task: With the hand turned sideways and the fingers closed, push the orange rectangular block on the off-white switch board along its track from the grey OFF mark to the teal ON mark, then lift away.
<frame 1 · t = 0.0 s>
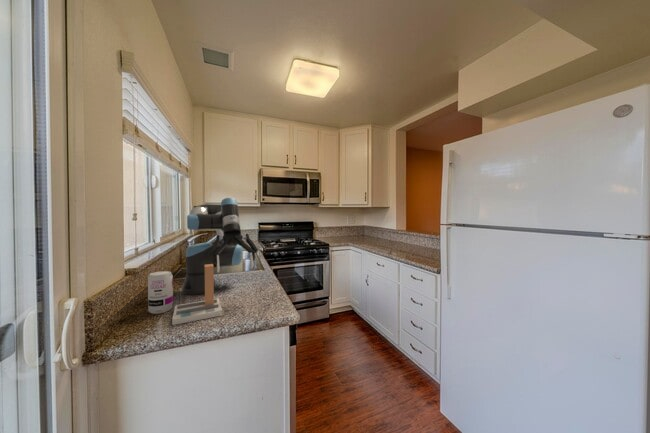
hand: (236, 269, 100), 15 cm above the worktop, tool tilted 35°, fingers open, 13 cm apart
orange rectangular block: (209, 285, 94), point 10 cm above the worktop, slide at 0.0 cm
supplement can: (161, 310, 95), on the worktop
switch base: (198, 312, 92), on the worktop
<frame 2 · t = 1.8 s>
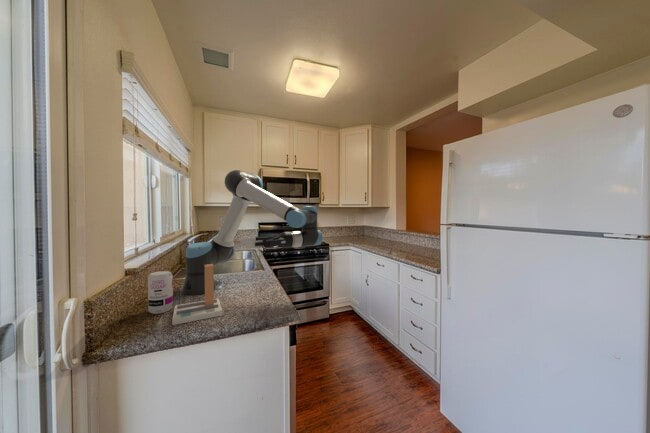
hand: (243, 242, 100), 26 cm above the worktop, tool horizontal, fingers open, 12 cm apart
nothing on the worktop moved.
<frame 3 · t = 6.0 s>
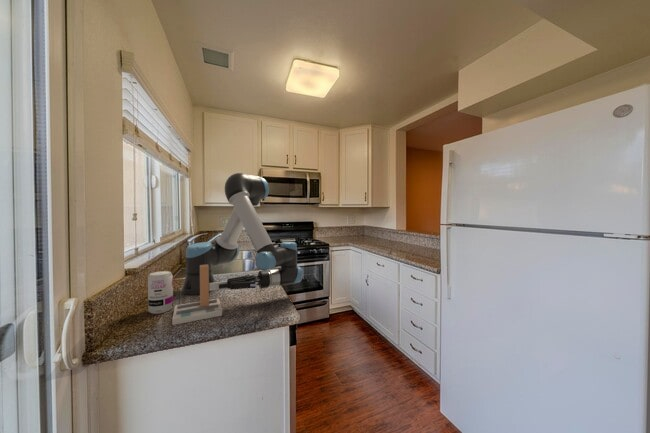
hand: (209, 286, 93), 10 cm above the worktop, tool horizontal, fingers closed
orange rectangular block: (204, 285, 93), point 10 cm above the worktop, slide at 1.7 cm, touching gripper
everything else where it was.
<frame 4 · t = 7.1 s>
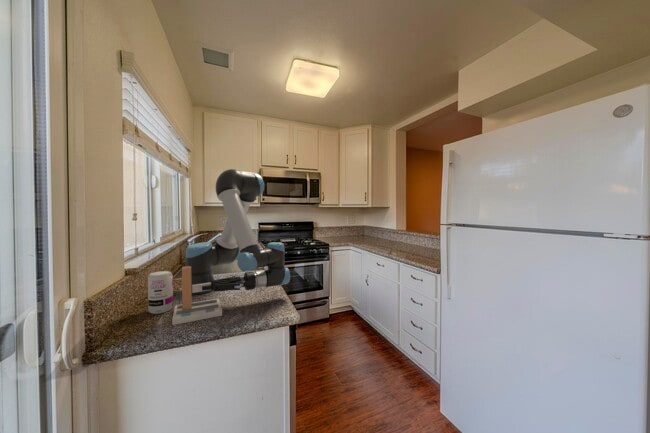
hand: (192, 288, 91), 10 cm above the worktop, tool horizontal, fingers closed
orange rectangular block: (186, 288, 90), point 10 cm above the worktop, slide at 7.7 cm
everything else where it was.
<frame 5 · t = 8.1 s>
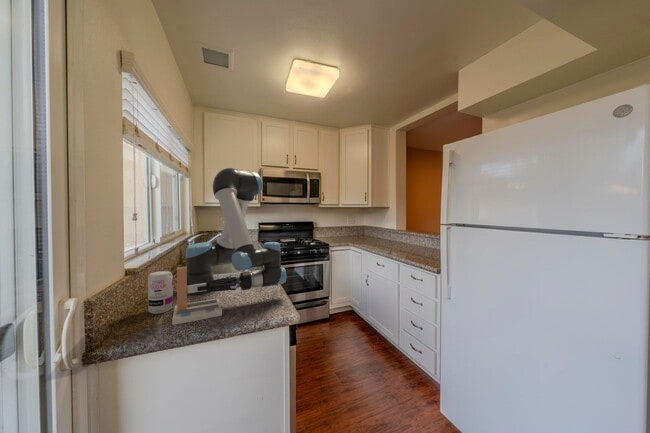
hand: (187, 289, 90), 10 cm above the worktop, tool horizontal, fingers closed
orange rectangular block: (182, 288, 90), point 10 cm above the worktop, slide at 9.2 cm, touching gripper
everything else where it was.
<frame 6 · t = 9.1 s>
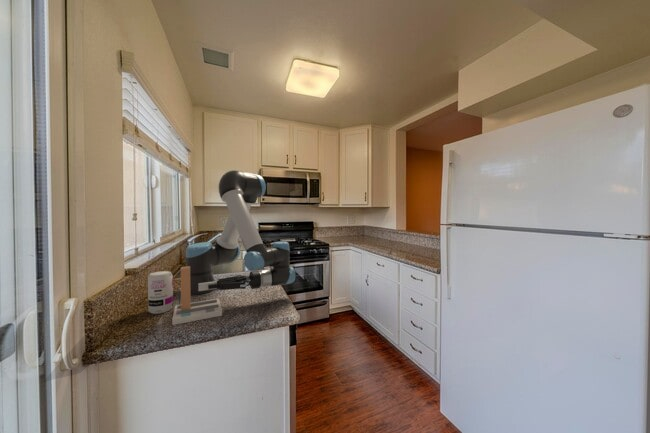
hand: (198, 287, 92), 10 cm above the worktop, tool horizontal, fingers closed
orange rectangular block: (185, 288, 90), point 10 cm above the worktop, slide at 8.0 cm
everything else where it was.
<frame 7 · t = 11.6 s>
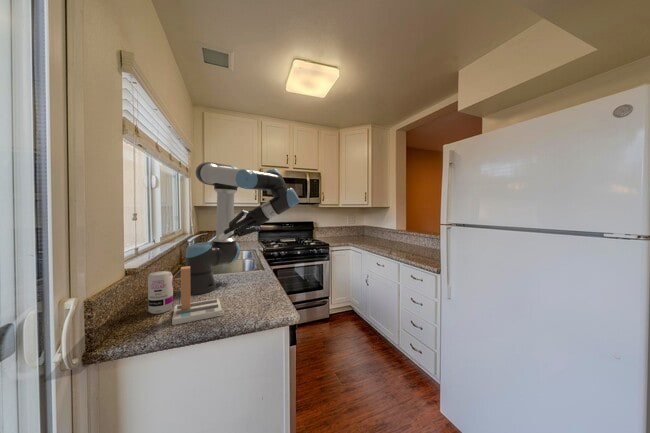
hand: (219, 238, 104), 28 cm above the worktop, tool tilted 60°, fingers closed
nothing on the worktop moved.
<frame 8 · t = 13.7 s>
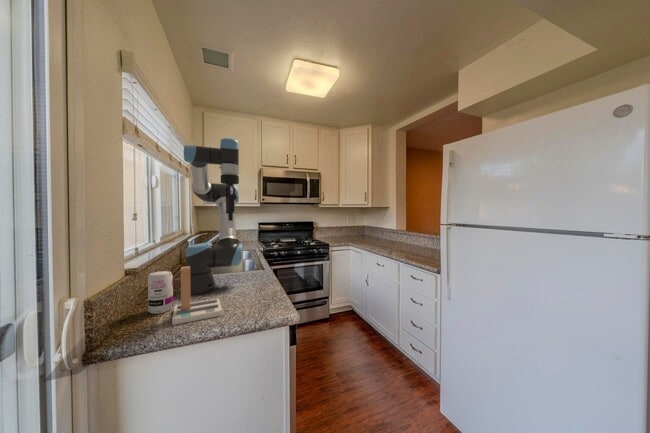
hand: (230, 227, 105), 32 cm above the worktop, tool pointing down, fingers closed
nothing on the worktop moved.
at the end: orange rectangular block slide at 8.0 cm; supplement can moved 0.2 cm from its start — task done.
